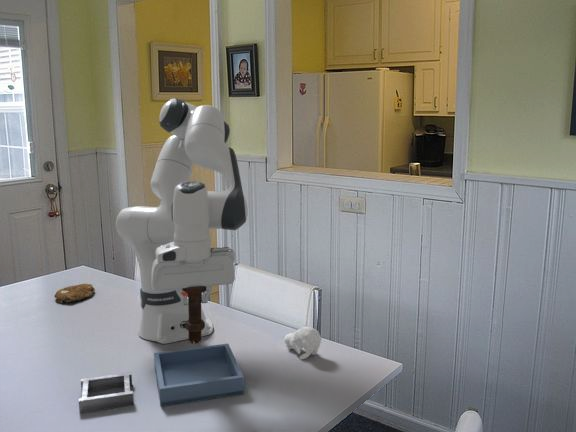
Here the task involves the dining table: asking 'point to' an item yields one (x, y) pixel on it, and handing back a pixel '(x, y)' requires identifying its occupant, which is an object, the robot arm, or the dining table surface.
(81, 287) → the decorative rock
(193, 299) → the bolt
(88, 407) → the bracket
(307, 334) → the white figurine
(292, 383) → the dining table surface
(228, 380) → the tray
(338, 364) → the dining table surface
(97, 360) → the dining table surface
